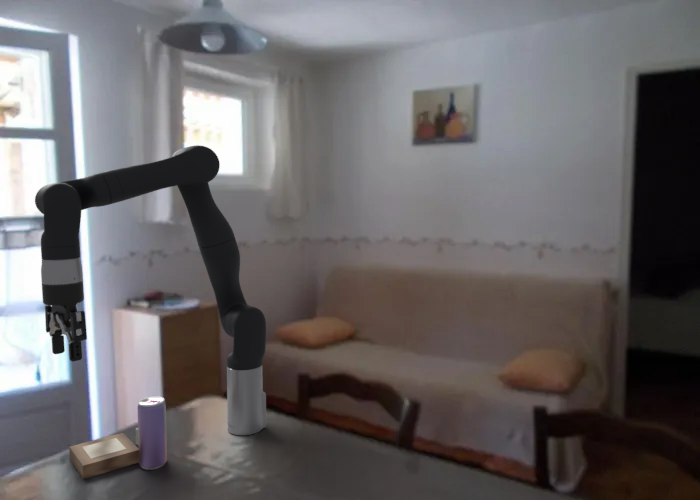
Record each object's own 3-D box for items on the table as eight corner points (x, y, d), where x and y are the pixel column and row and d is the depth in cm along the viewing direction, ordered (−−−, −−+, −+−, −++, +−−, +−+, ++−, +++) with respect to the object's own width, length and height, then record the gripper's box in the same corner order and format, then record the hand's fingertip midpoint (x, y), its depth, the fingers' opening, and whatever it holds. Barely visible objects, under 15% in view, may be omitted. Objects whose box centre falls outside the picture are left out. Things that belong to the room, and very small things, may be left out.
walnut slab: (123, 444, 132) (122, 432, 131) (139, 462, 123) (139, 449, 122) (69, 459, 124) (69, 446, 124) (83, 479, 115) (82, 465, 115)
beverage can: (157, 472, 118) (156, 406, 117) (133, 469, 119) (131, 404, 118) (171, 459, 124) (170, 397, 123) (148, 457, 125) (147, 395, 124)
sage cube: (149, 438, 135) (149, 423, 135) (159, 442, 133) (159, 427, 133) (135, 444, 132) (135, 428, 132) (145, 448, 130) (145, 432, 130)
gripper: (96, 281, 108) (100, 358, 110) (67, 275, 117) (71, 347, 119) (57, 285, 102) (62, 367, 104) (29, 279, 112) (34, 354, 113)
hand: (67, 356), depth 111 cm, fingers open, 8 cm apart
